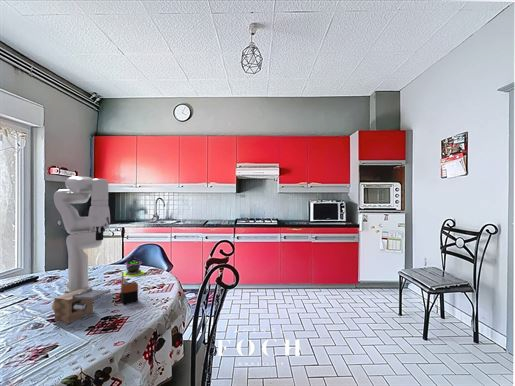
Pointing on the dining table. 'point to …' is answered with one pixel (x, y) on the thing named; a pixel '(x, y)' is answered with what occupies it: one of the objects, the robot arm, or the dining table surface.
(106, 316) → the dining table surface
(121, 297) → the tow hook
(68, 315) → the block
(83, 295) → the grey flat plate
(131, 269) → the toy cauldron
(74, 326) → the dining table surface
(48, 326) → the dining table surface
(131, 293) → the battery
